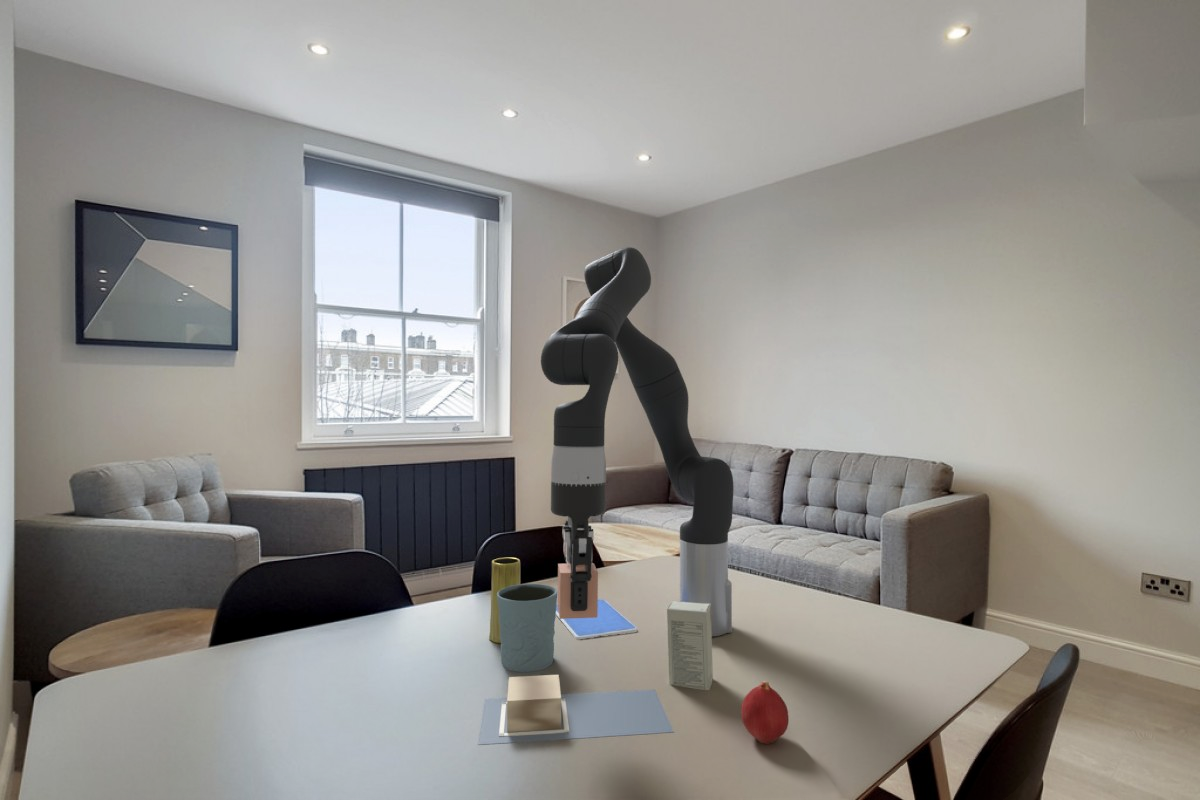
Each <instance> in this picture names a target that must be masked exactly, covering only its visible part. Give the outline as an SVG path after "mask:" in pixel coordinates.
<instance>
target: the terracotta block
mask: <svg viewBox="0 0 1200 800" xmlns="http://www.w3.org/2000/svg"><path fill="white" fill-rule="evenodd" d="M576 571H585V567H584V565H577V566H576ZM591 574H592V578H591V580H590V581H589V582H588V599H587V609H586V610H585V611H572V610H571V607H570V597H571V583H570V580H569V576H570V565H569V564H566V563H557V604H558V612H559V617H560V619H568V618H597V611H598V600H599V599H598V596H599V592H598V591H599V586H598V585H599V572H598V570H597V568H596V565H595V563H593V562H591ZM560 619H559V620H560Z"/></svg>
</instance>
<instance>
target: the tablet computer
mask: <svg viewBox="0 0 1200 800" xmlns="http://www.w3.org/2000/svg"><path fill="white" fill-rule="evenodd" d="M556 617H557V618H558V619H559V620H560V621H561V622H562V624H563V625H564V626H565V627H566V629H567V630H568V631H569V632H570V634H571V635H572V636H573V638H574V639H575V638H576V639H575V640H577V639H583V640H586V639H585V638H589V639H595V638H594V637H598V638H600V637H599V636H605V637H609V636H608V635H612V636H618V635H617V634H620V635H627V634H633V633H635V634H636V633H637V632H639V631H638V630H639V629H638V627H636V625H634V624H633V623H632V622H631V621H630V620H629V619H627V618H626V617H625V616H624V615H622V614H621V612H619V611H618V610H617V609H616V608H614V607H613V605H611V604H610V603H609V602H608V601H607V600H605V599H603V598H602V599H601V598H599V599H598V611H597V618H568V619H560V617H559V612H558V603H557V605H556ZM626 633H627V634H626Z"/></svg>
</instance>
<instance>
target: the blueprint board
mask: <svg viewBox="0 0 1200 800" xmlns="http://www.w3.org/2000/svg"><path fill="white" fill-rule="evenodd" d="M670 733H675V731H674V729H673V726H672V724H671V722H670V720H669V718H668V715H667V713H666V711H665V709H664V707H663V704H662V702H661V700H660V698H659V696H658V692H657V691H656V689H655V688H653V689H652V688H651V689H637V690H635V689H634V690H633V689H632V690H617V691H602V692H601V691H600V692H584V693H581V692H580V693H567V694H566V693H564V694H563V693H561V729H550V730H534V731H518V732H507V697H491V698H484V703H483V709H482V716H481V722H480V730H479V734H478V736H479V737H478V742H477V746H483V745H484V746H485V745H497V744H498V745H499V744H514V743H515V744H516V743H531V742H543V741H544V742H545V741H546V742H547V741H559V740H560V741H561V740H562V741H563V740H574V739H575V740H577V739H591V738H593V739H594V738H606V737H607V738H608V737H620V736H622V737H623V736H624V737H625V736H638V735H652V734H653V735H655V734H670Z"/></svg>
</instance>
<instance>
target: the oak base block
mask: <svg viewBox="0 0 1200 800" xmlns="http://www.w3.org/2000/svg"><path fill="white" fill-rule="evenodd" d="M559 676H560V675H559V674H546V675H525V676H524V675H522V676H509V677H508V683H507V685H508V686H507V697H506V698H507V732H518V731H534V730H550V729H561V694H562V693H561V684H560V677H559Z"/></svg>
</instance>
